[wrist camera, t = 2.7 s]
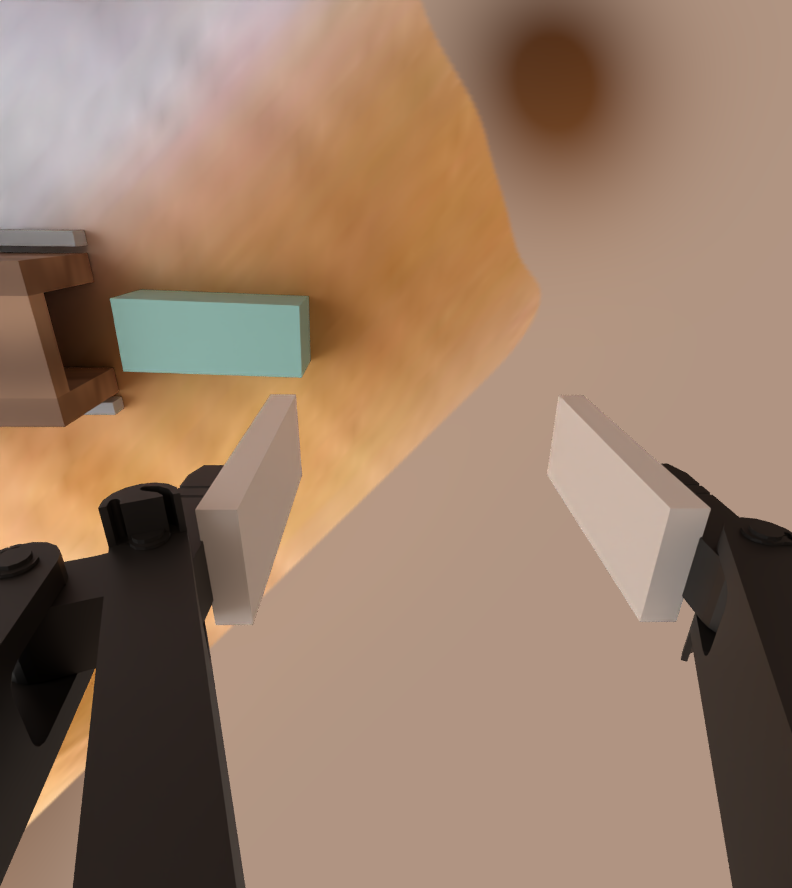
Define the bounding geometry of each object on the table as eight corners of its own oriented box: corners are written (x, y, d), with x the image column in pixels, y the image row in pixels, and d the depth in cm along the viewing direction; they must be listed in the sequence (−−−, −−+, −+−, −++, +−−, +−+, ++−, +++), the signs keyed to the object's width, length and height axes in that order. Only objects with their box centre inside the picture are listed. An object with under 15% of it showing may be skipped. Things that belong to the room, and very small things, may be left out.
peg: (142, 288, 30) (109, 298, 27) (309, 295, 31) (299, 305, 27) (153, 354, 32) (123, 371, 28) (311, 359, 32) (301, 377, 29)
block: (-54, 251, 29) (-157, 259, 23) (87, 252, 29) (17, 260, 24) (-8, 391, 32) (-88, 426, 27) (118, 391, 32) (64, 426, 27)
